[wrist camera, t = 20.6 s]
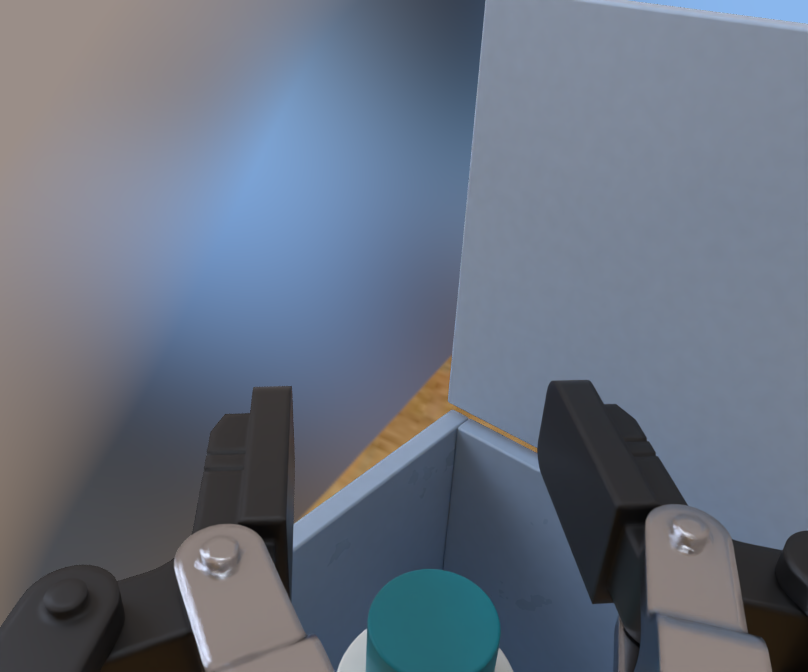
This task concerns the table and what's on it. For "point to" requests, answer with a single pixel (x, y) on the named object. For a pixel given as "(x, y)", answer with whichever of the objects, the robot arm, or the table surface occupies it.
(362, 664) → the bottle
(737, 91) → the box lid
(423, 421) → the table surface
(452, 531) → the grey bin
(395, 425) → the table surface
